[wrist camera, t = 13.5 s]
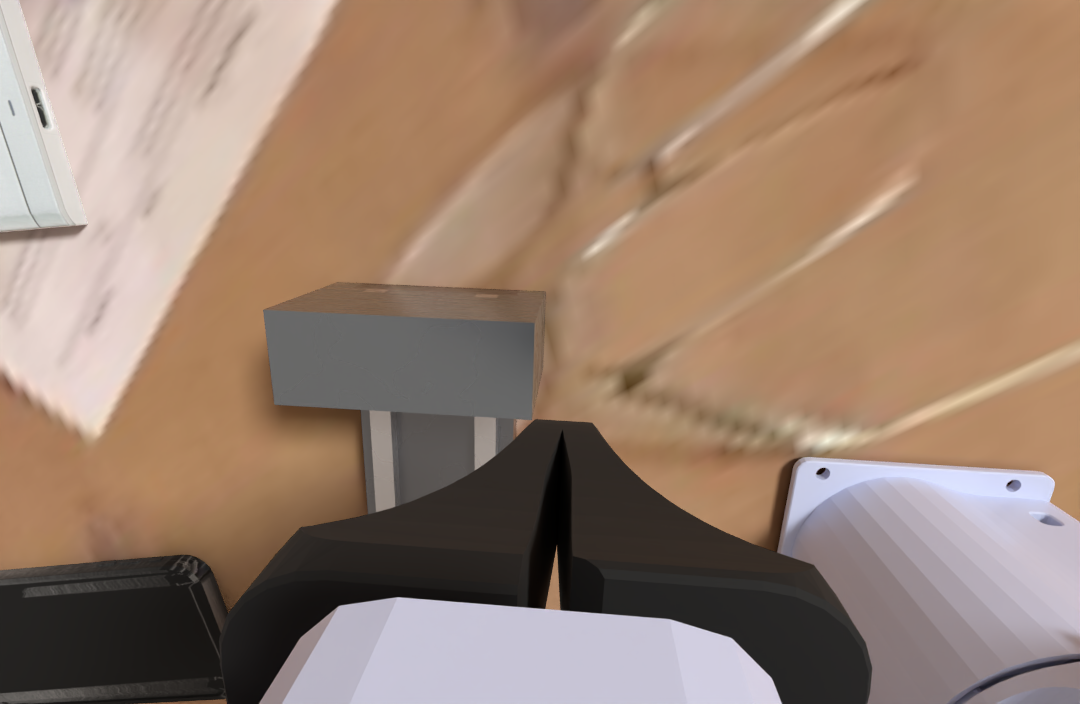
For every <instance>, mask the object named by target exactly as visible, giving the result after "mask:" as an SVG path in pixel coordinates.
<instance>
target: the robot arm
mask: <svg viewBox="0 0 1080 704" xmlns="http://www.w3.org/2000/svg"><path fill="white" fill-rule="evenodd" d="M820 468H826V470H825V472H824V473H822V474H820V475H816V472H817V470H819V469H820ZM1011 480H1013V482H1012V483H1011V484H1010V485H1008V486H1006V485H1007V483H1008V482H1009V481H1011ZM1054 487H1055V482H1054V480H1053V479H1052V478H1051V477H1050V476H1048V475H1046V474H1045V473H1043V472H1039V471H1027V470H1010V469H994V468H978V467H962V466H945V465H929V464H913V463H897V462H880V461H864V460H848V459H832V458H815V457H804V458H801V459H799V460H798V461H797V462H796V463H795V464H794V467H793V471H792V476H791V482H790V487H789V492H788V497H787V503H786V508H785V513H784V519H783V524H782V529H781V535H780V540H779V545H778V551H777V552H774V551H771V550H768V549H765V548H762V547H759V546H756V545H754V544H751V543H749V542H747V541H744V540H742V539H740V538H737V537H735V536H733V535H730V534H728V533H726V532H723V531H721V530H719V529H717V528H715V527H713V526H711V525H709V524H707V523H705V522H703V521H702V520H700V519H698V518H696V517H695V516H693V515H691V514H689V513H688V512H686V511H684V510H682V509H681V508H679V507H678V506H676V505H675V504H673V503H672V502H670V501H669V500H667V499H666V498H665V497H663V496H662V495H660V494H659V493H658V492H656V491H655V490H654V489H652V488H651V487H650V486H649V485H647V484H646V483H645V482H644V481H643V480H641V479H640V478H639V477H638V476H637V475H636V474H635V473H634V472H633V471H632V470H631V469H630V468H629V467H628V466H627V465H626V464H625V463H624V462H623V461H622V460H621V459H620V458H619V457H618V455H617V454H616V453H615V452H614V451H613V450H612V448H611V447H610V446H609V445H608V443H607V442H606V441H605V439H604V438H603V437H602V435H601V434H600V432H599V431H598V430H597V428H596V427H595V426H594V425H593V423H589V422H572V421H555V420H538V419H535V420H534V421H533V422H532V423H531V424H530V425H528V426H527V427H526V428H525V429H524V430H523V431H522V432H521V433H520V434H519V435H518V436H517V437H516V438H515V439H514V440H513V441H512V442H511V443H510V444H509V445H507V446H506V447H505V448H504V449H503V450H502V451H501V452H500V453H498V454H497V455H496V456H494V457H493V458H492V459H490V460H489V461H488V462H486V463H485V464H484V465H482V466H481V467H479V468H478V469H476V470H475V471H473V472H472V473H470V474H468V475H467V476H465V477H463V478H461V479H459V480H458V481H456V482H454V483H452V484H450V485H448V486H446V487H444V488H442V489H439V490H437V491H435V492H432V493H430V494H428V495H425V496H423V497H421V498H418V499H416V500H413V501H411V502H408V503H405V504H402V505H399V506H396V507H393V508H390V509H386V510H383V511H379V512H375V513H372V514H368V515H364V516H360V517H356V518H350V519H345V520H340V521H335V522H329V523H324V524H319V525H314V526H307V527H301V528H300V529H299V530H298V531H297V532H296V533H295V534H294V535H293V536H292V537H291V538H290V539H289V540H288V542H287V543H286V544H285V545H284V546H283V547H282V548H281V549H280V550H279V551H278V553H277V554H276V555H275V556H274V557H273V559H272V560H271V561H270V562H269V564H268V565H267V566H266V567H265V569H264V570H263V571H262V572H261V573H260V575H259V576H258V577H257V578H256V580H255V581H254V582H253V583H252V584H251V586H250V587H249V588H248V589H247V591H246V592H245V593H244V594H243V595H242V597H241V598H240V599H239V600H238V602H237V603H236V604H235V605H234V607H233V608H232V609H231V610H230V612H229V613H228V614H227V617H226V620H225V623H224V626H223V629H222V632H221V635H220V638H219V644H220V667H221V672H222V678H223V683H224V689H225V695H226V700H227V704H1080V522H1079V521H1077V520H1076V519H1074V518H1073V517H1071V516H1070V515H1068V514H1067V513H1065V512H1064V511H1062V510H1061V509H1059V508H1058V507H1056V506H1055V505H1053V504H1052V503H1050V499H1051V496H1052V493H1053V490H1054ZM556 546H557V554H558V573H559V592H560V610H550V609H545V607H546V601H547V596H548V590H549V585H550V580H551V574H552V569H553V563H554V558H555V552H556Z"/></svg>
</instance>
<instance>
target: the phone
mask: <svg viewBox="0 0 1080 704" xmlns="http://www.w3.org/2000/svg"><path fill="white" fill-rule="evenodd" d="M227 614H228V612H227V609H226V606H225V604H224V601H223V598H222V596H221V593H220V590H219V588H218V585H217V582H216V580H215V577H214V574H213V572H212V571H211V569H210V567H209V566H208V565H207V564H206V563H205V562H203V561H202V560H200V559H199V558H197V557H194V556H191V555H175V556H163V557H152V558H140V559H128V560H117V561H116V560H114V561H102V562H93V563H82V564H70V565H58V566H47V567H35V568H23V569H11V570H0V704H139V703H158V702H178V701H197V700H217V699H226V695H225V689H224V683H223V678H222V672H221V667H220V644H219V638H220V635H221V632H222V629H223V626H224V623H225V620H226V617H227Z"/></svg>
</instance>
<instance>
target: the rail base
mask: <svg viewBox="0 0 1080 704" xmlns="http://www.w3.org/2000/svg"><path fill="white" fill-rule="evenodd" d="M545 296H546V292H541V291H518V290H496V289H474V288H451V287H429V286H407V285H384V284H362V283H339V282H337V283H334V284H332V285H329V286H326V287H324V288H321V289H318V290H315V291H313V292H310V293H307V294H305V295H302V296H299V297H297V298H294V299H291V300H288V301H286V302H283V303H280V304H278V305H275V306H272V307H269V308H267V309H264V310H263V312H264V321H265V329H266V337H267V346H268V354H269V362H270V371H271V379H272V387H273V396H274V404H275V405H288V406H305V407H321V408H338V409H355V410H361V422H362V436H363V450H364V465H365V479H366V493H367V507H368V514H372V513H375V512H379V511H383V510H386V509H390V508H393V507H396V506H399V505H402V504H405V503H408V502H411V501H413V500H416V499H418V498H421V497H423V496H425V495H428V494H430V493H432V492H435V491H437V490H439V489H442V488H444V487H446V486H448V485H450V484H452V483H454V482H456V481H458V480H459V479H461V478H463V477H465V476H467V475H468V474H470V473H472V472H473V471H475V470H476V469H478V468H479V467H481V466H482V465H484V464H485V463H486V462H488V461H489V460H490V459H492V458H493V457H494V456H496V455H497V454H498V453H500V452H501V451H502V450H503V449H504V448H505V447H506V446H507V445H509V444H510V443H511V442H512V441H513V440H514V439H515V438H516V419H524V420H532V417H533V412H534V407H535V403H536V398H537V393H538V389H539V384H540V379H541V375H542V370H543V353H544V325H545Z"/></svg>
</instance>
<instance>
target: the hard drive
mask: <svg viewBox="0 0 1080 704" xmlns="http://www.w3.org/2000/svg"><path fill="white" fill-rule="evenodd" d="M80 225H88V222H87V218H86V215H85V212H84V209H83V206H82V202H81V199H80V196H79V193H78V189H77V186H76V183H75V180H74V177H73V173H72V170H71V167H70V164H69V160H68V157H67V154H66V151H65V148H64V144H63V141H62V138H61V135H60V132H59V128H58V125H57V122H56V118H55V115H54V112H53V108H52V105H51V102H50V99H49V96H48V92H47V89H46V86H45V83H44V80H43V76H42V73H41V70H40V67H39V63H38V60H37V57H36V54H35V51H34V47H33V44H32V41H31V38H30V34H29V31H28V28H27V25H26V21H25V18H24V15H23V12H22V8H21V5H20V2H19V0H0V232H11V231H23V230H35V229H45V228H57V227H69V226H80Z"/></svg>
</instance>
